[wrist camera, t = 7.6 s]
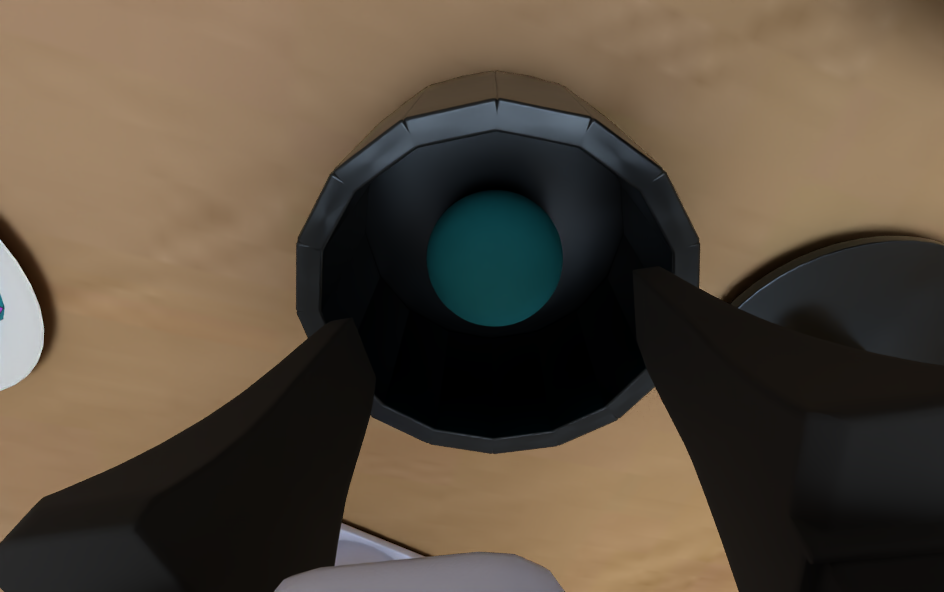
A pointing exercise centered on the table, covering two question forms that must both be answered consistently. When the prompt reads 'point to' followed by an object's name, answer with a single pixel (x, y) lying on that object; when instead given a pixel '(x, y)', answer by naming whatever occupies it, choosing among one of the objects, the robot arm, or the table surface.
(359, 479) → the table surface
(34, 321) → the pudding
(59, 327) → the table surface
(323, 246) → the black pot
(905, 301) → the pot lid
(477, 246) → the ball
